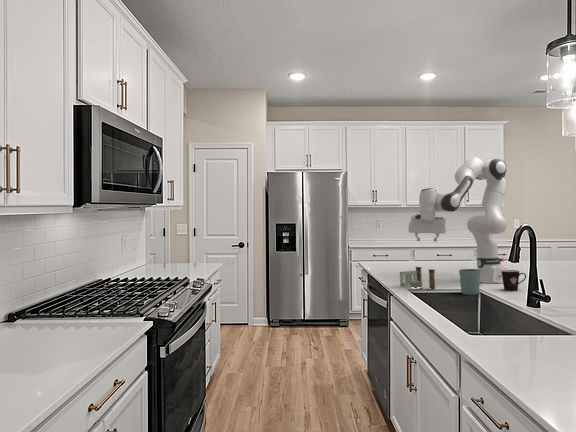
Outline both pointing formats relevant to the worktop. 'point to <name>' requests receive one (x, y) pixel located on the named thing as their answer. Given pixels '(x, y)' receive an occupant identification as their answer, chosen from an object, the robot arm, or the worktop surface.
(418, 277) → the hinge post
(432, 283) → the post
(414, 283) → the rubber block
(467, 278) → the teal cup
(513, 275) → the coffee mug
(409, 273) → the block
